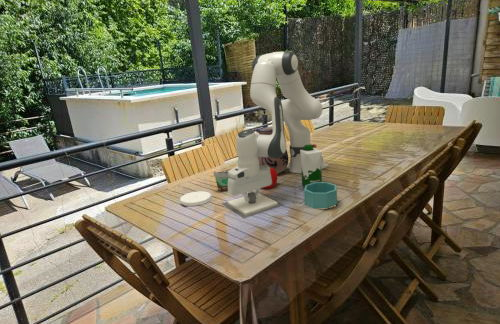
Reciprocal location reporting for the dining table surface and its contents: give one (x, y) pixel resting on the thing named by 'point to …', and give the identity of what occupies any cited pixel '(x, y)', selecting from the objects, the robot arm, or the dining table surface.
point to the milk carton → (310, 165)
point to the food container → (222, 180)
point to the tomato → (274, 178)
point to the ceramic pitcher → (271, 162)
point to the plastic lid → (195, 198)
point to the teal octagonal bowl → (320, 195)
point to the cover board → (252, 203)
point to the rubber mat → (252, 213)
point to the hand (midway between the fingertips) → (251, 199)
